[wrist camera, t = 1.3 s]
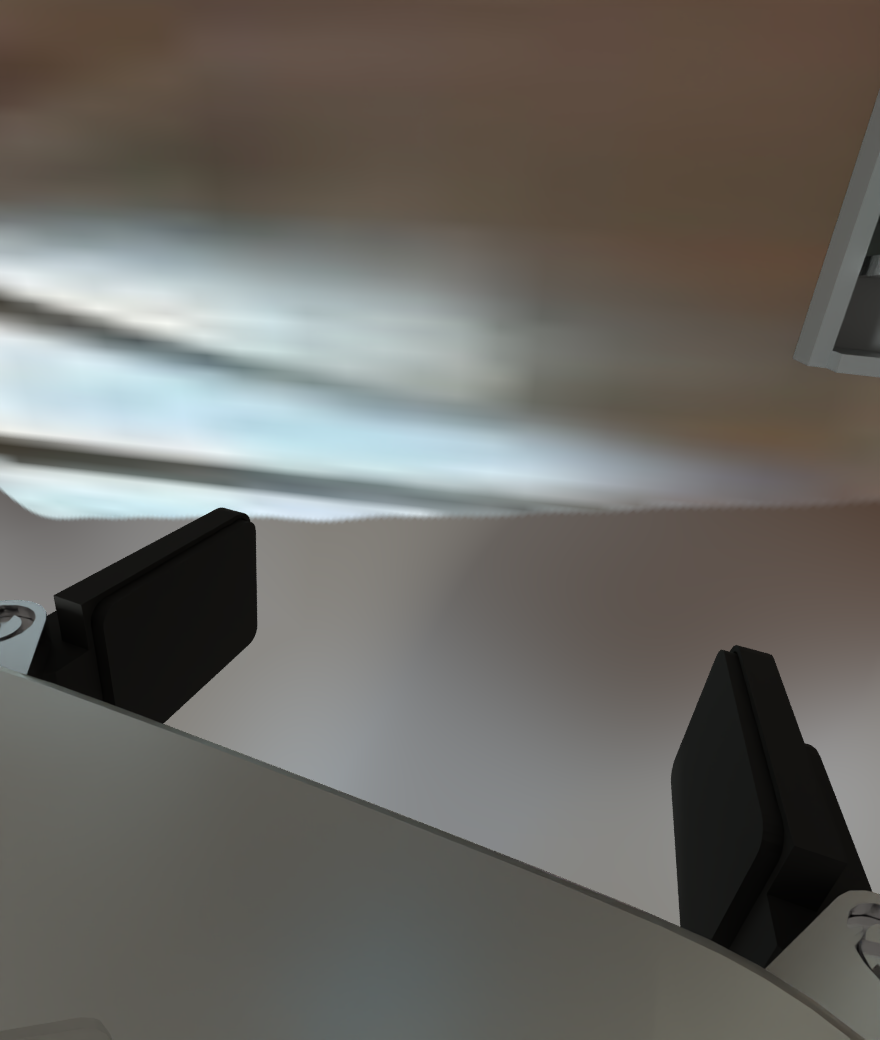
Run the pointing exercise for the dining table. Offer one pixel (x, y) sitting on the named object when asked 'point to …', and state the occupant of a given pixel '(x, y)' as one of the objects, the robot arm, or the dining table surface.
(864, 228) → the tray
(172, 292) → the dining table surface
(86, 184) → the dining table surface
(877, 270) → the spring pusher
